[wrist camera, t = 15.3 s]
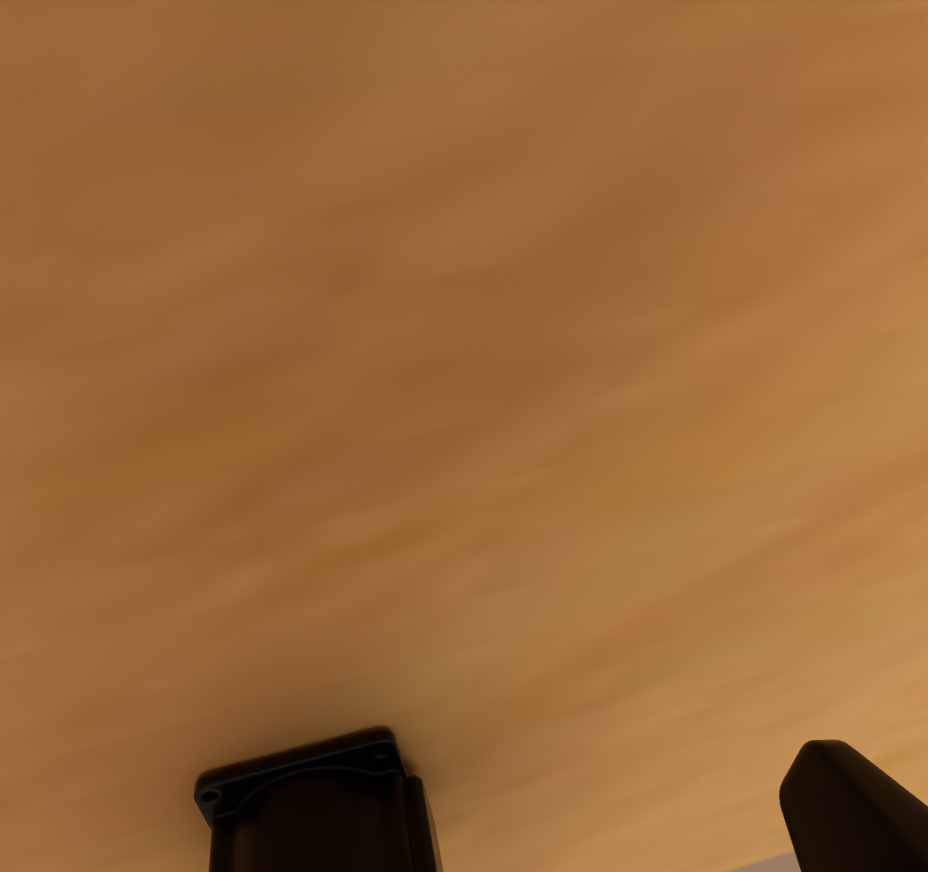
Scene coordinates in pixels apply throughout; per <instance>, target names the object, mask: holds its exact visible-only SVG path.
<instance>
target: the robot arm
mask: <svg viewBox="0 0 928 872" xmlns="http://www.w3.org/2000/svg"><path fill="white" fill-rule="evenodd" d="M194 799H195V802H196V804H197V805H198V807H199V809H200V811H201V813H202V814H203V816H204V818H205V820H206V821H207V823H208V825H209V827H210V829H211V830H212V833H211V848H210V863H209V872H443V868H442V862H441V856H440V850H439V845H438V839H437V833H436V828H435V822H434V818H433V815H432V811H431V808H430V805H429V801H428V798H427V795H426V792H425V788H424V785H423V782H422V779H420V778H419V777H417V776H416V775H411V776H408V774H407V771H406V768H405V765H404V762H403V759H402V755H401V752H400V749H399V746H398V743H397V740H396V737H395V735H394V734H393V733H391V732H389V731H376V732H373V733H369V734H365V735H361V736H357V737H354V738H350V739H346V740H342V741H338V742H334V743H331V744H327V745H323V746H319V747H315V748H311V749H308V750H304V751H300V752H296V753H292V754H288V755H285V756H281V757H277V758H273V759H269V760H265V761H262V762H258V763H254V764H250V765H246V766H243V767H239V768H235V769H231V770H227V771H223V772H220V773H216V774H212V775H208V776H205V777H203V778H200V779H199V780H198V781H197V782H196V784H195V791H194ZM779 800H780V806H781V810H782V813H783V816H784V819H785V823H786V826H787V829H788V832H789V835H790V838H791V841H792V844H793V848H794V851H795V854H796V857H797V860H798V863H799V866H800V869H801V872H928V806H927V805H925V804H924V803H923V802H922V801H920V800H919V799H918V798H916V797H915V796H914V795H913V794H911V793H910V792H909V791H907V790H906V789H905V788H904V787H902V786H901V785H900V784H899V783H897V782H896V781H895V780H893V779H892V778H891V777H890V776H888V775H887V774H886V773H884V772H883V771H882V770H881V769H879V768H878V767H877V766H875V765H874V764H873V763H872V762H870V761H869V760H868V759H867V758H865V757H864V756H863V755H861V754H860V753H859V752H858V751H856V750H855V749H854V748H852V747H851V746H850V745H848V744H847V743H845V742H843V741H840V740H811V741H809V742H807V743H805V744H804V745H803V746H802V748H801V749H800V751H799V753H798V755H797V756H796V758H795V760H794V762H793V764H792V765H791V767H790V769H789V771H788V772H787V774H786V776H785V778H784V779H783V781H782V783H781V786H780V791H779Z"/></svg>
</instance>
